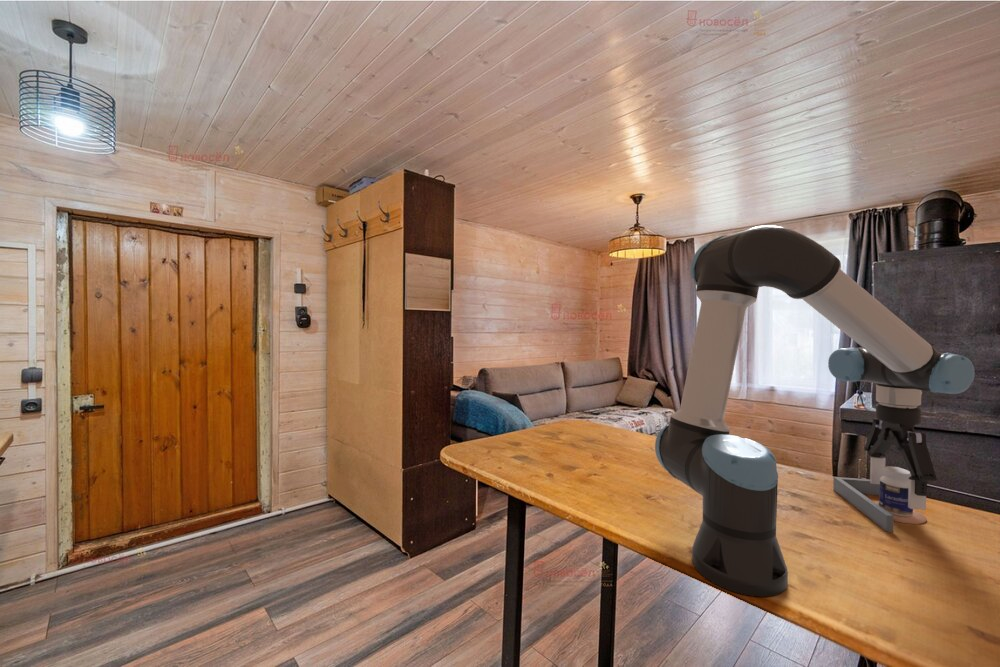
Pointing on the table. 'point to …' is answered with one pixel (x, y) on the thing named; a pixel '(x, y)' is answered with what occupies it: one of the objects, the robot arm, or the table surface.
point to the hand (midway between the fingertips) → (895, 495)
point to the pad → (910, 518)
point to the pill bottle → (895, 491)
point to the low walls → (863, 499)
